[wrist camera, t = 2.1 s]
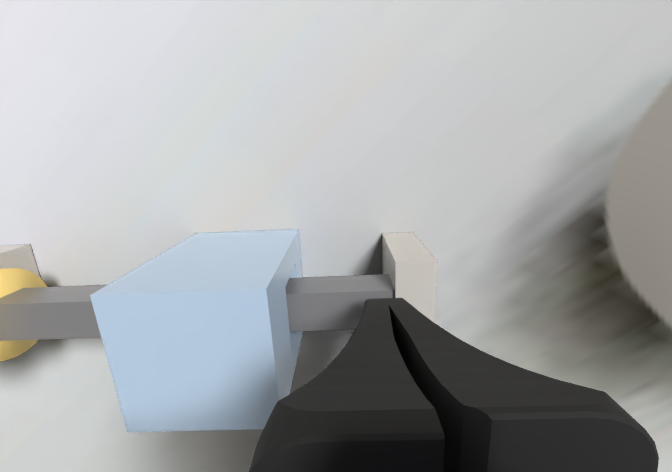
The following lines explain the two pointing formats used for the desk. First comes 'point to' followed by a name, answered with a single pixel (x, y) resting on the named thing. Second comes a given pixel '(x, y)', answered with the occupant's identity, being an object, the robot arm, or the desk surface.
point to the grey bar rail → (301, 293)
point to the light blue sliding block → (203, 332)
